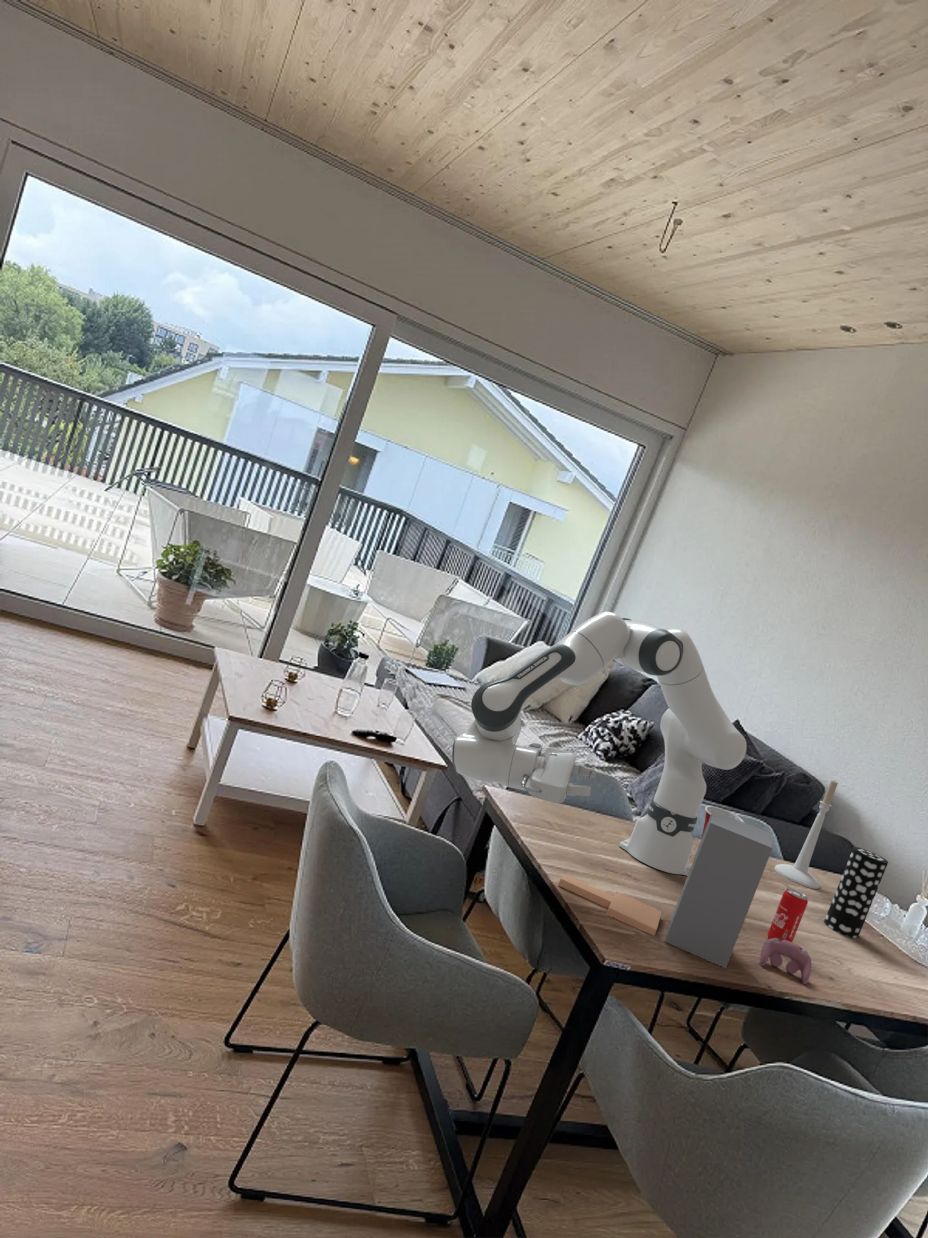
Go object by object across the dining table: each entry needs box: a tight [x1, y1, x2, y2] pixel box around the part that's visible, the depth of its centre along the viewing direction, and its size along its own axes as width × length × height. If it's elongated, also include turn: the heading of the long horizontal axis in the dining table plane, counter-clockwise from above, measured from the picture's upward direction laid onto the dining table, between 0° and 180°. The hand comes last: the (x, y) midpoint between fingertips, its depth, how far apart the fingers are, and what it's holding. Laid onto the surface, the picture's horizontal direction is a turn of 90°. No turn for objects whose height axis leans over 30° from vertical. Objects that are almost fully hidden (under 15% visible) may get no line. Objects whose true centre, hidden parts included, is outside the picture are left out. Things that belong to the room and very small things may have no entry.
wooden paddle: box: [557, 873, 662, 937], centre depth 194 cm, size 12×21×2 cm, turn 72°
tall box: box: [665, 810, 774, 969], centre depth 188 cm, size 13×12×25 cm
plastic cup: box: [701, 805, 745, 837], centre depth 263 cm, size 11×11×12 cm
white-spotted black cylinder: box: [823, 846, 889, 939], centre depth 233 cm, size 8×8×20 cm
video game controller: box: [759, 938, 812, 985], centre depth 191 cm, size 10×5×7 cm, turn 73°
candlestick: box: [774, 780, 839, 890], centre depth 269 cm, size 13×13×30 cm
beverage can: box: [767, 887, 809, 943], centre depth 206 cm, size 5×5×12 cm
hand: (592, 783), depth 196 cm, fingers open, 8 cm apart
